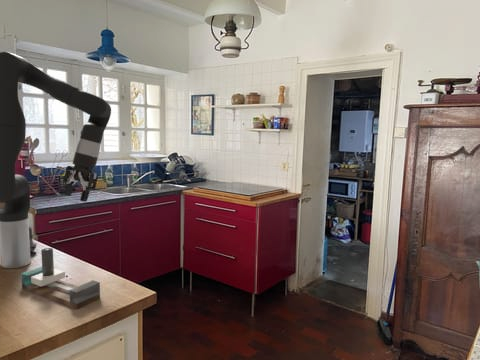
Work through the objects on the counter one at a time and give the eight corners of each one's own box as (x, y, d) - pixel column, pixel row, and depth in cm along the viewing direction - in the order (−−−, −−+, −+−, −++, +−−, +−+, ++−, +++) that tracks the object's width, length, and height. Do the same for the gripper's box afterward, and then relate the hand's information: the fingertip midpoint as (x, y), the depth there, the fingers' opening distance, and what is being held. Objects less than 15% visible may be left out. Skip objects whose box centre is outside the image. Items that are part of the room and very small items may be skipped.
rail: (22, 288, 115) (21, 273, 114) (46, 279, 122) (45, 265, 121) (77, 309, 102) (76, 292, 102) (100, 298, 109) (99, 282, 109)
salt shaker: (29, 257, 142) (27, 227, 141) (16, 255, 143) (14, 226, 142) (40, 252, 148) (39, 223, 146) (28, 250, 149) (26, 222, 147)
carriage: (31, 282, 112) (29, 251, 110) (55, 274, 119) (53, 244, 117) (41, 286, 110) (39, 254, 108) (65, 277, 116) (63, 247, 115)
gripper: (64, 148, 128) (53, 192, 127) (91, 155, 121) (79, 202, 121) (82, 152, 134) (71, 194, 134) (109, 159, 128) (97, 204, 127)
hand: (75, 198), depth 127 cm, fingers open, 8 cm apart
